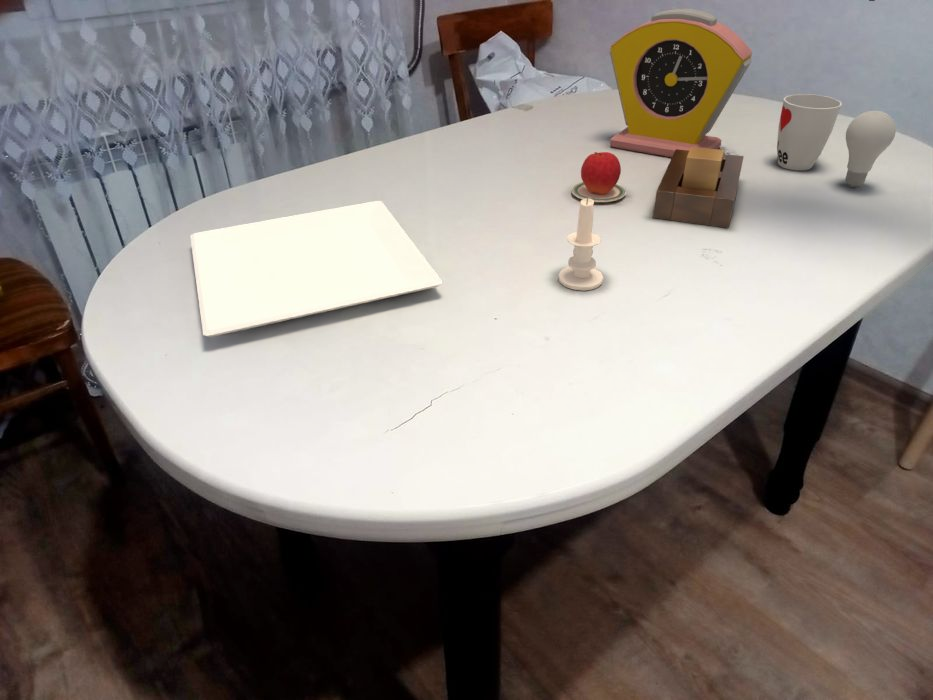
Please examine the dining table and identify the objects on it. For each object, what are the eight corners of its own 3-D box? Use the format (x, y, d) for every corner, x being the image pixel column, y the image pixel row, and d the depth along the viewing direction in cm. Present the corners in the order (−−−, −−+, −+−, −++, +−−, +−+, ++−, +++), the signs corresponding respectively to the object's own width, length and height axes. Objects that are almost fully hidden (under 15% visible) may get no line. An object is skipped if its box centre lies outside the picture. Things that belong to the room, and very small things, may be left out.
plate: (193, 246, 88) (189, 232, 86) (382, 212, 95) (380, 198, 94) (208, 351, 68) (202, 334, 67) (444, 297, 75) (444, 281, 74)
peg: (712, 205, 94) (724, 150, 90) (709, 217, 91) (721, 160, 86) (681, 201, 96) (690, 146, 91) (677, 212, 92) (686, 157, 88)
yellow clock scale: (594, 145, 116) (606, 9, 104) (615, 130, 123) (629, 1, 110) (720, 167, 106) (750, 20, 94) (736, 150, 112) (766, 10, 100)
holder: (738, 181, 101) (743, 155, 99) (728, 228, 88) (734, 200, 86) (671, 173, 104) (675, 149, 102) (652, 217, 91) (656, 190, 89)
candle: (593, 294, 75) (602, 209, 69) (551, 284, 77) (556, 201, 71) (609, 274, 79) (618, 192, 73) (568, 265, 81) (574, 184, 75)
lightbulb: (855, 197, 95) (881, 120, 89) (821, 183, 100) (843, 109, 93) (885, 190, 97) (912, 113, 91) (850, 176, 102) (874, 103, 95)
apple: (563, 199, 97) (566, 156, 93) (581, 180, 103) (585, 139, 99) (616, 208, 94) (621, 164, 90) (632, 189, 100) (637, 146, 96)
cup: (770, 153, 111) (786, 92, 105) (823, 160, 108) (842, 96, 102) (765, 169, 105) (781, 105, 99) (821, 177, 102) (841, 110, 96)
